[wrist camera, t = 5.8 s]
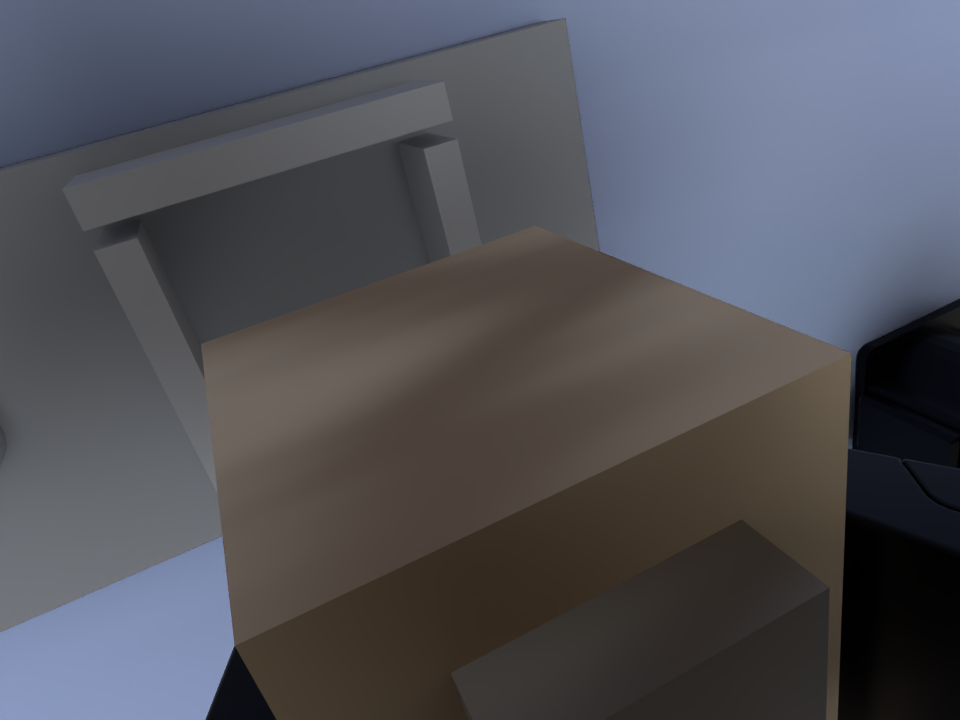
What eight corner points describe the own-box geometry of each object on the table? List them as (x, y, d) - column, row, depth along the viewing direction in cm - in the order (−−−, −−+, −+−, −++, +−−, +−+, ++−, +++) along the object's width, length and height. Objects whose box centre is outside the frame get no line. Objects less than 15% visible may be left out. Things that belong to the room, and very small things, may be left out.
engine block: (535, 225, 9) (960, 398, 4) (596, 552, 12) (899, 889, 7) (200, 343, 8) (249, 772, 3) (354, 676, 11) (510, 1185, 6)
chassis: (542, 21, 18) (610, 11, 15) (595, 351, 22) (654, 389, 20) (-392, 273, 13) (-545, 327, 10) (-75, 635, 17) (-120, 740, 14)
